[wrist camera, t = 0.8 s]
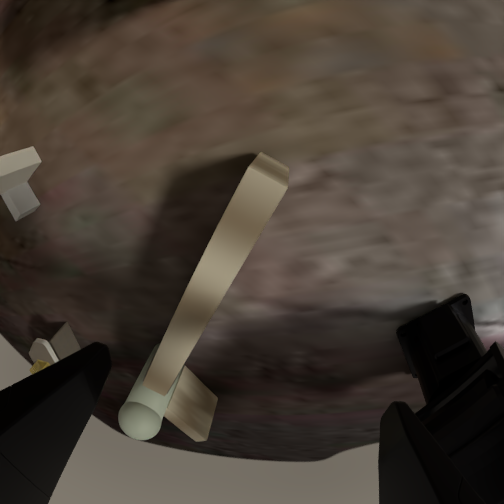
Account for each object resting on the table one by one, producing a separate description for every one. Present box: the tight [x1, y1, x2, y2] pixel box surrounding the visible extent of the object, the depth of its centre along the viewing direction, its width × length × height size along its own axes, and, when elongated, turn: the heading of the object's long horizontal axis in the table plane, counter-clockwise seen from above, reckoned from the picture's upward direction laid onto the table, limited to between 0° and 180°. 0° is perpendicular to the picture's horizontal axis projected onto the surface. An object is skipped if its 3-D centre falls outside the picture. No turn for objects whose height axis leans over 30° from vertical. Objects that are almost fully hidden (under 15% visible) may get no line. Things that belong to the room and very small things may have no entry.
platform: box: [29, 322, 81, 374], centre depth 25 cm, size 12×18×7 cm, turn 6°
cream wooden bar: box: [142, 152, 289, 396], centre depth 18 cm, size 17×2×5 cm, turn 152°
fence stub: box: [164, 365, 218, 442], centre depth 24 cm, size 5×1×5 cm, turn 32°
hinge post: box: [118, 343, 185, 440], centre depth 21 cm, size 3×3×9 cm
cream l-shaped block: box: [0, 147, 42, 221], centre depth 17 cm, size 4×4×6 cm
